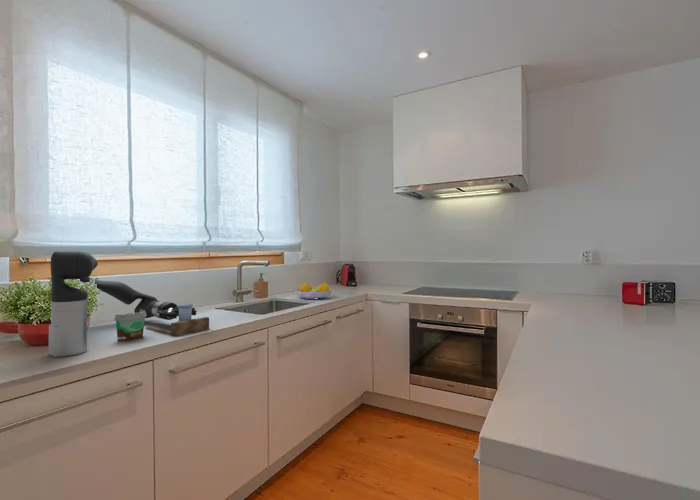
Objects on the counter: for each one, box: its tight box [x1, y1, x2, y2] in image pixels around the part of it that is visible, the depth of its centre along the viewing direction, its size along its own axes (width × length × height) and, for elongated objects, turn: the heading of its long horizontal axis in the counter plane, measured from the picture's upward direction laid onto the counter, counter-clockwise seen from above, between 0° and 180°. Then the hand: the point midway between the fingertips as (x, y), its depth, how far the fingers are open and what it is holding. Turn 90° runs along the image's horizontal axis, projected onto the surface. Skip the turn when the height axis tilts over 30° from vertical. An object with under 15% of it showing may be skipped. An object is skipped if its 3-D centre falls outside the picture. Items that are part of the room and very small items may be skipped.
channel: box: [145, 316, 210, 337], centre depth 149 cm, size 15×22×5 cm
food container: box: [114, 310, 147, 342], centre depth 133 cm, size 12×6×10 cm, turn 168°
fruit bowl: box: [294, 280, 333, 300], centre depth 247 cm, size 28×27×11 cm
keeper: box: [177, 303, 193, 321], centre depth 146 cm, size 6×6×11 cm
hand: (185, 314), depth 145 cm, fingers open, 8 cm apart
